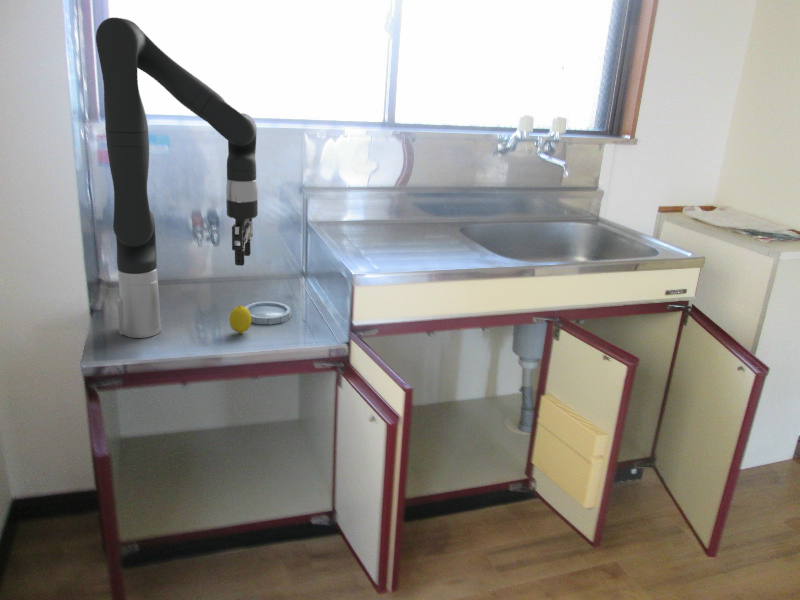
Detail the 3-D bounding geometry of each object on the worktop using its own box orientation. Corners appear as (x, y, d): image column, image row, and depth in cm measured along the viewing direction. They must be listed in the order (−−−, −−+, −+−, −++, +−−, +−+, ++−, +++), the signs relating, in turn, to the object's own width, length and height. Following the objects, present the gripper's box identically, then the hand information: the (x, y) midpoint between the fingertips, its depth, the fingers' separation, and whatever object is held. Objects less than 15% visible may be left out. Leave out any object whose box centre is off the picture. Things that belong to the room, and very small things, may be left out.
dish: (238, 322, 183) (238, 316, 182) (249, 305, 195) (249, 300, 195) (285, 325, 183) (285, 319, 182) (293, 309, 195) (294, 303, 195)
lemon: (225, 334, 175) (224, 306, 172) (239, 328, 180) (239, 300, 177) (241, 339, 173) (241, 311, 170) (255, 333, 177) (255, 304, 174)
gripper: (232, 191, 171) (233, 251, 177) (220, 202, 158) (222, 267, 163) (261, 192, 172) (262, 253, 177) (252, 204, 158) (252, 269, 164)
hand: (243, 260), depth 170 cm, fingers open, 8 cm apart
